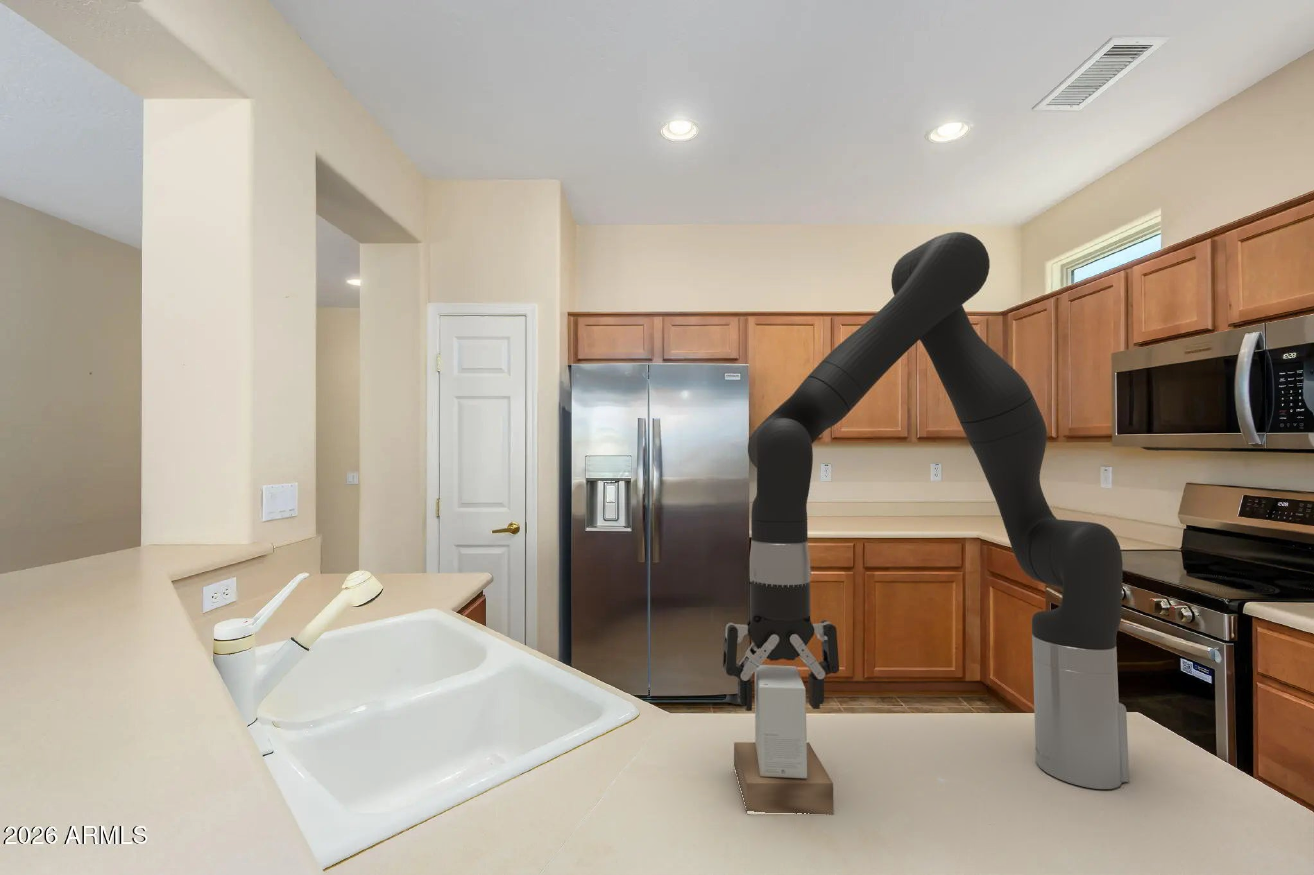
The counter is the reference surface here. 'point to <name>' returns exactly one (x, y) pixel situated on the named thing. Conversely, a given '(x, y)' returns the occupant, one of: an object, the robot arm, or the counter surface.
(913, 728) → the counter surface
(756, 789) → the walnut block
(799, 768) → the small box
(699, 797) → the counter surface
